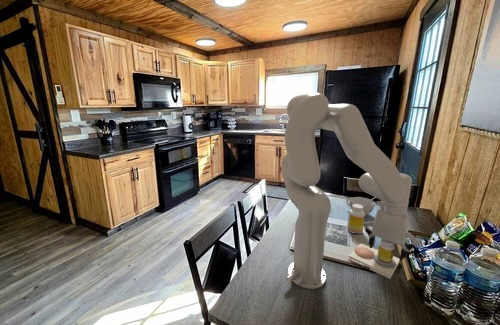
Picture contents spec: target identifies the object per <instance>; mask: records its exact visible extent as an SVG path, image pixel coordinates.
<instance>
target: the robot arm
mask: <svg viewBox="0 0 500 325" xmlns="http://www.w3.org/2000/svg"><path fill="white" fill-rule="evenodd" d="M286 112H287V115H288V118H289V119H288V121H287V124H286V127H285V130H284V144H285V148H286V149H285V150H286V154H285V155H284V156H283V158H282V159H281V160H282V161H281V164H280V165H281V166H280V168H281V173H282V174H281V175H282V178H283V182H284V186H285V189H286V193H287V197H288V198H289V200H290V202H291V203H292V204H293V205H294V206H295V207H296V209H297V211H298V217H297V219H296V222H295V226H294V245H293V247H294V248H293V259H292V260H293V262H291V263H290V265H289V267H288V270H287V272H288V273H287V274H288V275H287V276H285V282H287V283H288V284H291V282H293V283H294V284H295V285H296V286H298V287H300V288H303V289H308V290H316V289H319V288H322V287H323V286H324V285H325V283H326V282H327V274H326V271H325V270H324V269H323V265H324V264H323V262H324V254H325V253H324V252H325V242H326V229H327V225H328V220H329V217H330V214H331V210H332V202H331V201H330V198H329V196H328V195H327V194H326V192H324V191H323V190H322V189H320V188H319V187H317V186H316V185H317V184H318V183H319V181H320V179H321V166H320V162H319V156H318V152H317V148H316V140H315V139H316V132H317V130H318V129H322V130H326V131H332V132H334V134H335V135H336V138H337V139H338V141H339V143H340V145H341V147H342V149H343V151H344V153H345V156H347V158H348V159H349V161H351V162H352V163H353V164H355V165H356V166H358V167H359V168H360V169H362V170H363V171H364V172H366V173H363V174H362V175H361V176H360V177H359V178H358V185H359V187H360V189H361V190H362V191H363V192H365V193H366V194H369V195H370V196H372V197H375V198H376V199H378V200H379V201H376V205H378V206H379V208H377V210H376V213H375V216H374V219H373V221H366V222H365V221H364V224H363V229H364V231H365V232H366V234H367V235H368V236H367V237H368V245H369V248H374V246H375V242H376V237H377V238H379V239H384V240H387V241H389V242H392V243H394V245H395V244H396V245H398V246H400V247H401V250H400V254H399V259H400V261H401V262H402V261H403V260H404V259H407V256H408V255H407V254H408V251H410V250H413V249H415V248H416V247H417V246H419V245H420V242H421V240H419V239H418V238H416V237H415V236H414V235H413V234H412V233H410V232H409V215H408V214H407V210H408V205H409V199H410V194H411V189H412V185H413V184H412V183H413V179H412V176H410V175H408V174H406V173H402V172H400V171H399V170H398V167H396V165H395V163H393V161H391V159H390V158H389V157H388V156H387V155H386V154H385V153H384V152H383V151H382V150H381V149H380V148H379V147H378V146H377V145H376V144H375V142H374V139H373V138H372V136H371V133H370V131H369V129H368V126H367V125H366V123H365V120H364V117H363V116H362V114H361V112H360V110H359V109H358V107H357V106H356V105H354V104H350V103H335V104H334V103H333V104H332V103H330V101H329V100H328V98H327V96H326V95H325V94H323V93H320V92H309V93H304V94H299V95H296V96H294V97H292V98H291V99H290V100H289V102H288V104H287V106H286ZM370 227H371V228H370ZM407 239H409V241H411V243H408V241H407Z"/></svg>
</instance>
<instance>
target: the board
mask: <svg viewBox="0 0 500 325" xmlns="http://www.w3.org/2000/svg"><path fill="white" fill-rule="evenodd" d="M369 247H370V245H366V244H364V243H362V242H361V243H359V244H358V245H357V247H355V248H354V249H353V251H352V252H351V253H350V254H349V255H348V259H349V258H350V259H353V260H355V261H357V262H359V263H362V264H363V265H365V266H367V267H369V268H370V269H369V270H370V271H372V272H375V273H377V274H379V275H380V276H383V277H385V278H387V279H389V280H391V279H392V277H393V275H394V273H395V271H396V269H397V267H398V266H399V264H400V261H401V260H400V257H396V256H394V255H393V260H392V264H390V265H386V264H383V263H381V262H379V261H378V259H377V255H378V249H376V248H374V247H372V248H369Z"/></svg>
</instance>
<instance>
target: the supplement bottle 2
mask: <svg viewBox="0 0 500 325" xmlns="http://www.w3.org/2000/svg"><path fill="white" fill-rule="evenodd" d="M380 239H381V238H380ZM377 250H378V255H377V259H378V261H379V262H381V263H383V264H386V265H390V264H392V260H393V256H394V253H395V243H392V242H389V241H387V240H384V239H381V240H380V242H379V244H378V249H377Z"/></svg>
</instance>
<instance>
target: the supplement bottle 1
mask: <svg viewBox="0 0 500 325" xmlns="http://www.w3.org/2000/svg"><path fill="white" fill-rule="evenodd" d="M362 210H363V206H362V205H359V204H353V205H352V209H351V208H350V210H349V211H348V217H347V219H348V220H347V228H346V230H347V229H348V230H349V231H351V232H353V233H358V234H357V235H360V234H359V233H361V234H362V233H363V230H364V226H363V224H364V223H365V217H366V216H365V213H364V212H363V211H362ZM348 230H347V231H348ZM349 231H348V232H349ZM353 233H352V234H353Z"/></svg>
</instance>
